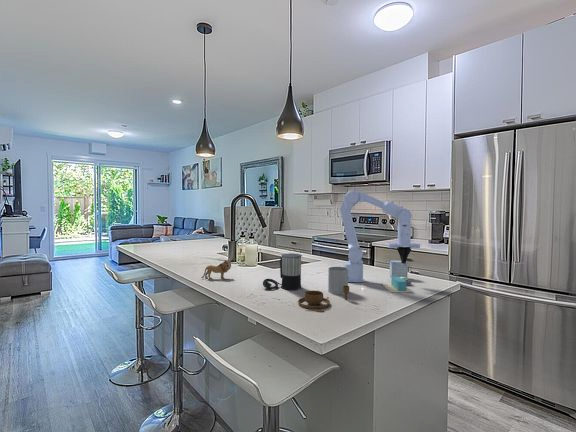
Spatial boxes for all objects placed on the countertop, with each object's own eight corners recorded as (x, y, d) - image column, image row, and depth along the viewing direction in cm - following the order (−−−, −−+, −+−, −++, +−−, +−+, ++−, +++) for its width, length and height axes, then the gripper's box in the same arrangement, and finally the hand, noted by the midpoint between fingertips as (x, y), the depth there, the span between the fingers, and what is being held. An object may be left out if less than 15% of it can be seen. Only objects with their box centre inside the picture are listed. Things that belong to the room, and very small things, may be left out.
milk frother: (306, 287, 145) (306, 254, 145) (280, 294, 134) (280, 259, 134) (283, 282, 156) (283, 251, 155) (258, 288, 144) (258, 255, 144)
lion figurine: (230, 276, 167) (230, 259, 166) (231, 278, 161) (231, 260, 161) (201, 277, 163) (201, 260, 163) (201, 280, 158) (200, 262, 158)
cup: (349, 290, 142) (349, 267, 141) (346, 295, 134) (346, 271, 133) (330, 288, 144) (330, 266, 144) (326, 293, 137) (326, 269, 136)
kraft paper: (390, 292, 138) (390, 291, 138) (382, 285, 150) (382, 284, 150) (411, 292, 138) (411, 291, 138) (401, 285, 150) (401, 284, 150)
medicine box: (405, 277, 166) (405, 260, 166) (407, 279, 162) (407, 262, 162) (389, 277, 167) (389, 260, 167) (391, 279, 163) (391, 261, 162)
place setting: (299, 298, 131) (299, 283, 131) (349, 299, 129) (349, 285, 129) (296, 312, 114) (296, 296, 113) (354, 314, 112) (354, 297, 112)
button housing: (399, 285, 150) (399, 281, 150) (395, 282, 155) (395, 278, 155) (410, 285, 150) (410, 281, 150) (406, 282, 155) (406, 278, 155)
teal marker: (398, 290, 140) (398, 281, 140) (390, 284, 151) (390, 275, 151) (406, 290, 140) (406, 281, 140) (397, 284, 151) (397, 275, 151)
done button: (401, 284, 151) (401, 278, 151) (398, 282, 154) (398, 276, 154) (407, 284, 151) (408, 278, 151) (405, 282, 154) (405, 276, 154)
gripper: (391, 235, 147) (391, 264, 148) (423, 235, 148) (422, 264, 148) (386, 233, 154) (386, 261, 155) (416, 233, 155) (416, 262, 155)
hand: (403, 263), depth 152 cm, fingers closed
